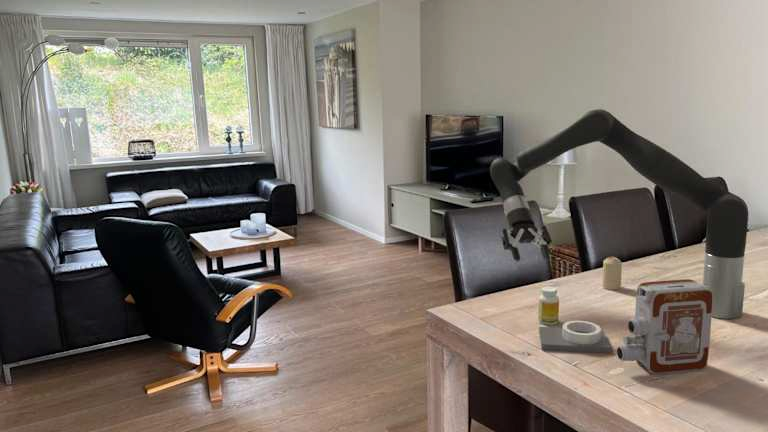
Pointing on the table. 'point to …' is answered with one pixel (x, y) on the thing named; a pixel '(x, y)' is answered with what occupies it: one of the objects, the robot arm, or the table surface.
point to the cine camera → (670, 327)
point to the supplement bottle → (548, 306)
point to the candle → (612, 273)
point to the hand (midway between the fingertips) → (532, 259)
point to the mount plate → (564, 345)
